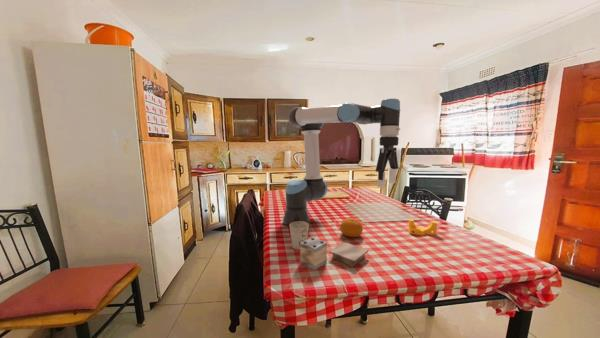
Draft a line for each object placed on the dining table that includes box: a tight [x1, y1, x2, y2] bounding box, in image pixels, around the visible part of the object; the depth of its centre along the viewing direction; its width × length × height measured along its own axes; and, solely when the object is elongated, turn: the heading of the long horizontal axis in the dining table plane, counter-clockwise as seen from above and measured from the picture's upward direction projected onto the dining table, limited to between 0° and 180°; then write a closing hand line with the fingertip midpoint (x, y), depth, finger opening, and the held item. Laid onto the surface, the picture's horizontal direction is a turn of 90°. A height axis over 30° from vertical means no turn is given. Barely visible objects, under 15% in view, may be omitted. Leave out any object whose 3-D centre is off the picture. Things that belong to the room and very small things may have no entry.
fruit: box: [339, 217, 364, 238], centre depth 109 cm, size 10×10×8 cm
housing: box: [299, 237, 328, 271], centre depth 84 cm, size 7×7×8 cm
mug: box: [288, 221, 310, 250], centre depth 99 cm, size 8×13×10 cm, turn 28°
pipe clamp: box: [407, 218, 438, 236], centre depth 111 cm, size 12×4×6 cm, turn 71°
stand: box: [328, 241, 369, 267], centre depth 88 cm, size 11×11×3 cm
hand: (386, 185), depth 99 cm, fingers open, 13 cm apart
